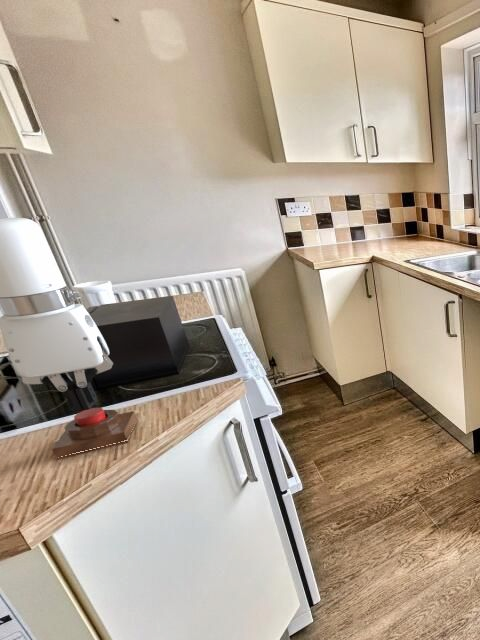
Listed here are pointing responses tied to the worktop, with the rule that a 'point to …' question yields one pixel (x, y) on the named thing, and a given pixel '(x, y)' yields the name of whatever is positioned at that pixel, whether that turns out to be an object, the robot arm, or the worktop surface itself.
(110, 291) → the cup
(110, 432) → the block
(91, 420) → the button
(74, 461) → the worktop surface
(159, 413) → the worktop surface
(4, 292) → the robot arm
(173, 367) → the oven
